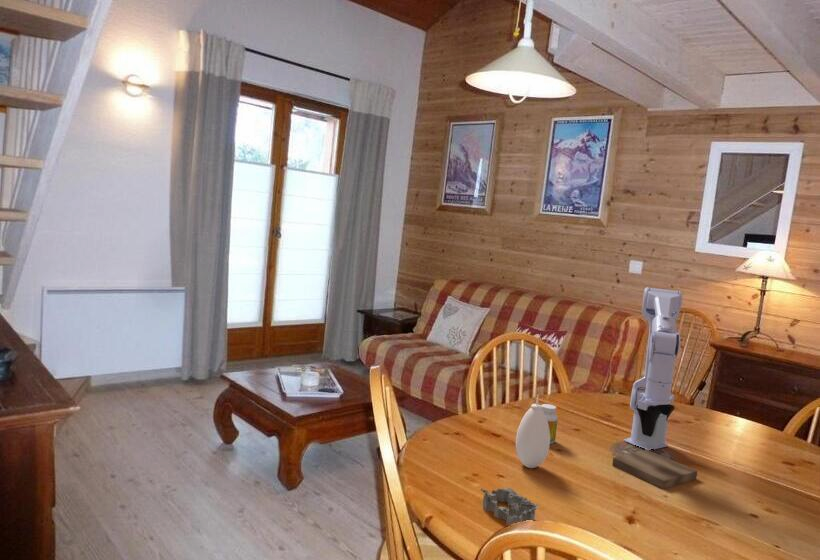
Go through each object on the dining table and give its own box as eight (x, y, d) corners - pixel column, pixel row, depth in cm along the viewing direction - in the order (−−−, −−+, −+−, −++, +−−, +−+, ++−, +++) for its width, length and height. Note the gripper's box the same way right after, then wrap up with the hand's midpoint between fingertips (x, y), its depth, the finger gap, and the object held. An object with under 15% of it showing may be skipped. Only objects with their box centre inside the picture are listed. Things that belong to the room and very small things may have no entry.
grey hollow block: (476, 506, 121) (478, 487, 120) (503, 499, 125) (505, 481, 124) (512, 531, 112) (514, 511, 111) (540, 523, 116) (542, 503, 115)
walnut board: (645, 456, 156) (646, 449, 155) (696, 478, 144) (697, 470, 144) (612, 465, 148) (613, 457, 148) (662, 489, 136) (664, 481, 136)
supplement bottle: (555, 445, 158) (559, 410, 157) (534, 442, 159) (539, 407, 158) (554, 438, 163) (558, 404, 162) (534, 435, 164) (538, 401, 163)
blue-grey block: (645, 436, 150) (649, 409, 149) (663, 442, 146) (666, 415, 146) (636, 439, 147) (640, 412, 146) (654, 446, 143) (658, 418, 142)
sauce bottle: (507, 460, 145) (515, 389, 143) (535, 458, 147) (543, 389, 146) (524, 474, 137) (532, 400, 136) (552, 472, 140) (561, 399, 138)
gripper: (657, 373, 152) (650, 423, 154) (629, 379, 143) (622, 433, 144) (685, 380, 147) (677, 432, 148) (657, 387, 138) (649, 442, 139)
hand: (652, 433), depth 146 cm, fingers closed on blue-grey block, 5 cm apart
